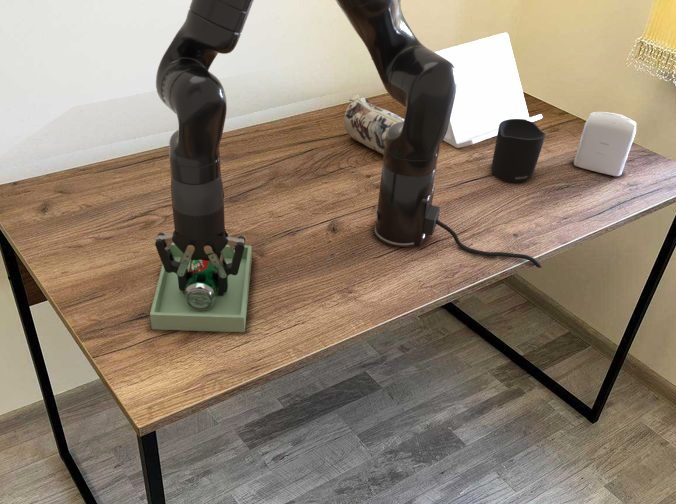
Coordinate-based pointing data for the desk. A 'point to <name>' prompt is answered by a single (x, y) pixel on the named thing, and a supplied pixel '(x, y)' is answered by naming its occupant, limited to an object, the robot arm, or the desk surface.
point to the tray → (219, 317)
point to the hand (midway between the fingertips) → (204, 291)
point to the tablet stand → (484, 90)
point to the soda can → (201, 285)
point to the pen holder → (517, 150)
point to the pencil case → (368, 123)
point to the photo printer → (605, 143)
